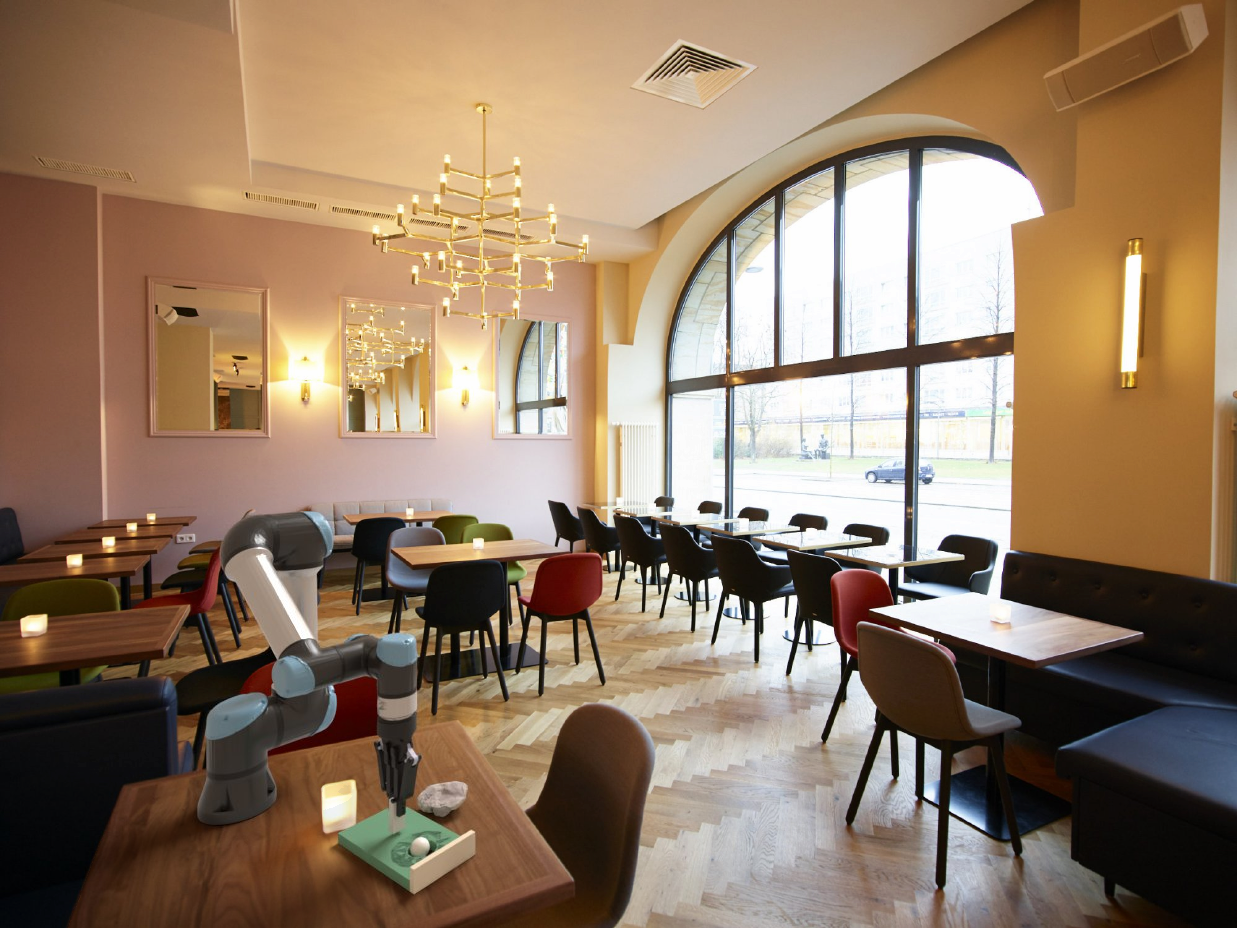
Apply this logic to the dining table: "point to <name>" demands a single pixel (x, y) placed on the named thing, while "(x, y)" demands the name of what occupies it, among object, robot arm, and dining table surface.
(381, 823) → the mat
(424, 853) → the ball
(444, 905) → the dining table surface
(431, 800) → the fossil
